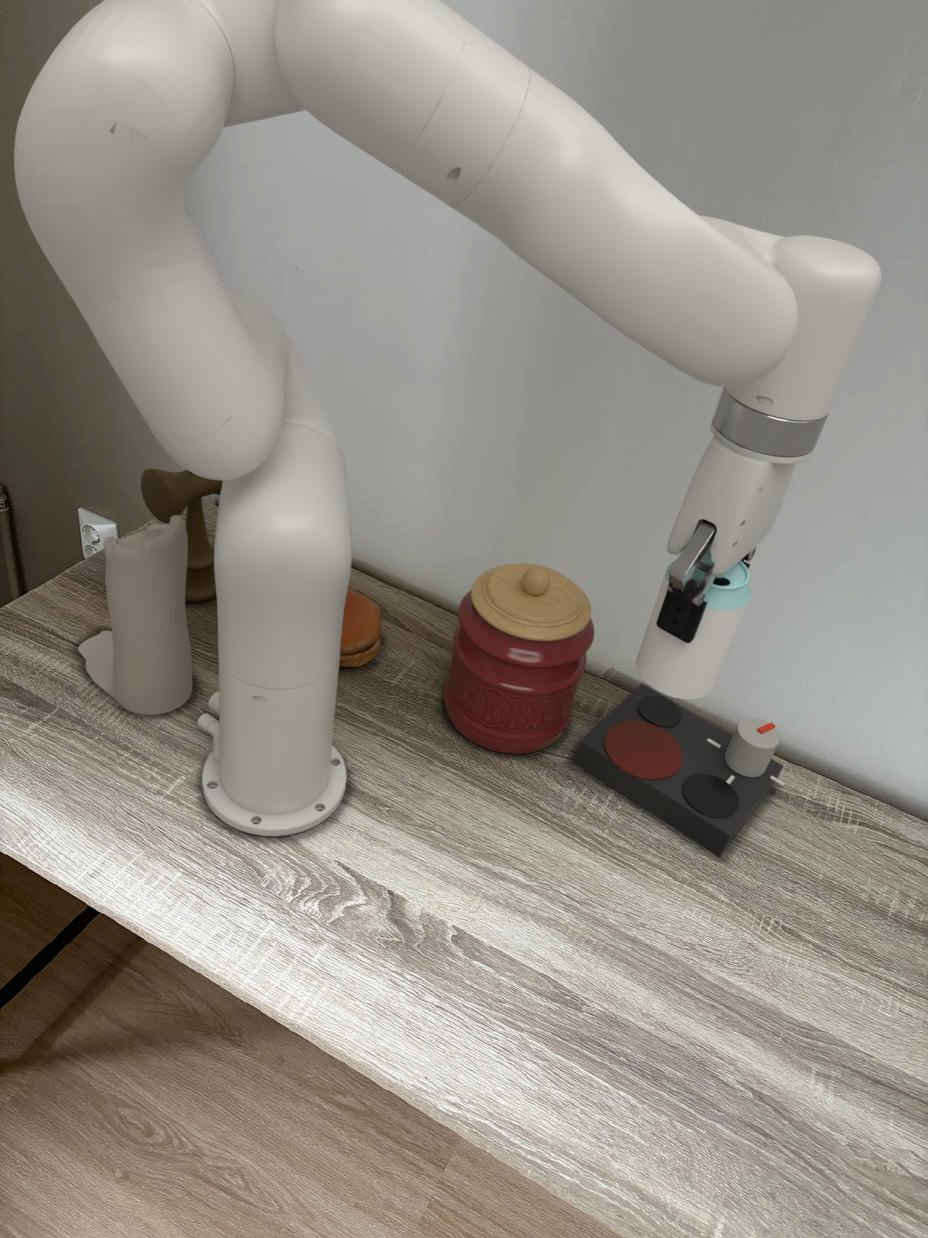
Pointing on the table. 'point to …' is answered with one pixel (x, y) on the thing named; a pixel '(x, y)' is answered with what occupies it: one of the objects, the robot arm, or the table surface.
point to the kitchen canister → (518, 657)
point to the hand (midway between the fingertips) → (696, 612)
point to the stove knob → (752, 747)
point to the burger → (359, 630)
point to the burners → (665, 757)
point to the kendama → (171, 498)
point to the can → (702, 659)
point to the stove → (680, 774)
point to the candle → (145, 622)
